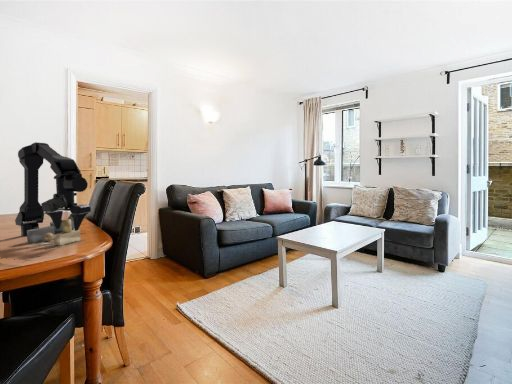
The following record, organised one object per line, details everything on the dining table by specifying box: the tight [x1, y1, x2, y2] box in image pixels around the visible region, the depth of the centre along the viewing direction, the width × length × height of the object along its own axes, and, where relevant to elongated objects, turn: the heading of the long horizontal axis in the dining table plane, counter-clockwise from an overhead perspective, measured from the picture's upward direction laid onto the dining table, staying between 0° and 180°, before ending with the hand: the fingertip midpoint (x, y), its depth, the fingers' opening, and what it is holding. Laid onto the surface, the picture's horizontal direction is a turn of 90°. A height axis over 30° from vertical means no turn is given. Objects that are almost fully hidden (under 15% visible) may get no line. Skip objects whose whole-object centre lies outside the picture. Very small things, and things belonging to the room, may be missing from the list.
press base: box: [23, 225, 87, 249], centre depth 114 cm, size 19×12×6 cm, turn 75°
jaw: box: [54, 218, 81, 245], centre depth 112 cm, size 3×9×9 cm, turn 165°
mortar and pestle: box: [49, 212, 75, 234], centre depth 130 cm, size 11×9×12 cm
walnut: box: [43, 233, 54, 241], centre depth 115 cm, size 4×4×4 cm
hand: (67, 229), depth 112 cm, fingers open, 9 cm apart
